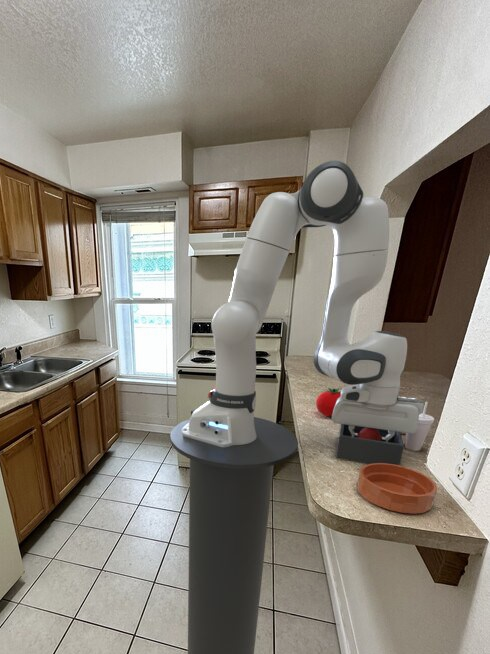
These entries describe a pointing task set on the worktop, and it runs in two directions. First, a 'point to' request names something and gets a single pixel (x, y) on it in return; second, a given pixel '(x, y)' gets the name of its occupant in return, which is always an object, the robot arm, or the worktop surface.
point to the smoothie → (419, 432)
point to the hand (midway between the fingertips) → (368, 441)
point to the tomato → (327, 401)
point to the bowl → (396, 488)
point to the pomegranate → (370, 434)
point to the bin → (369, 447)
